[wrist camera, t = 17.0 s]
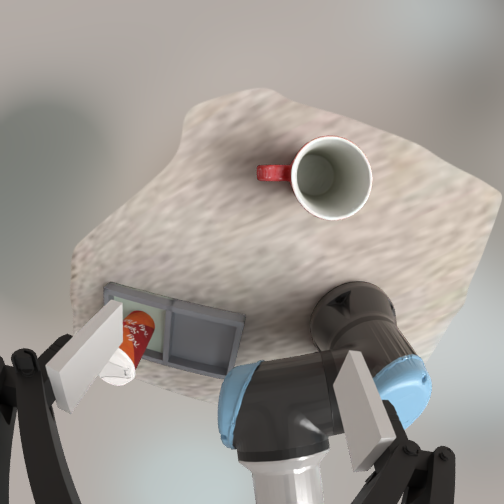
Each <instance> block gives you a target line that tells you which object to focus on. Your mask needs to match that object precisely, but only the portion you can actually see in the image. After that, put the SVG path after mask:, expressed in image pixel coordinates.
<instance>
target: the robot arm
mask: <svg viewBox="0 0 504 504" xmlns="http://www.w3.org/2000/svg"><path fill="white" fill-rule="evenodd" d="M310 329H311V335H312V339H313V342H314V344H315V346H316V348H317V349H318V351H319V352H315V353H310V354H305V355H300V356H295V357H289V358H283V359H277V360H270V361H264V360H260V361H258V362H257V363H252V364H246V365H241V366H237V367H234V368H233V369H231V370H230V371H229V372H228V374H227V375H226V377H225V379H224V382H223V383H222V387H221V390H220V395H219V402H218V428H219V433H220V434H221V440H222V442H223V444H224V445H225V446H226V447H227V448H231V449H237V453H238V461H239V463H241V464H242V465H243V466H245V467H246V468H247V469H249V470H250V471H251V472H252V477H253V484H254V493H255V500H256V504H324V496H323V488H322V479H321V471H320V462H321V460H322V459H323V458H324V456H325V455H326V454H327V452H328V451H329V450H330V447H329V440H328V437H329V436H332V435H337V434H342V433H345V436H346V440H347V445H348V449H349V454H350V458H351V463H352V467H353V471H354V472H358V471H368V470H369V469H370V468H371V467H372V466H373V464H374V467H375V471H374V472H373V473H372V474H371V476H369V478H368V479H367V480H366V481H365V482H366V484H365V485H364V486H363V488H362V489H361V491H360V492H359V494H358V495H357V496H356V497H355V499H354V500H353V502H352V503H351V504H397V503H398V501H399V500H400V498H401V496H402V494H403V498H402V502H401V504H454V492H455V454H454V453H453V451H452V450H451V449H450V448H448V447H445V446H440V447H438V448H437V449H436V450H435V451H434V452H429V451H423V450H421V449H420V447H419V446H418V445H417V444H416V443H415V442H413V441H411V440H408V438H407V435H406V433H405V431H404V430H405V429H406V428H407V427H408V426H410V425H411V424H412V423H413V422H414V421H415V419H416V418H418V417H419V416H420V414H421V413H422V412H423V410H424V409H425V407H426V405H427V403H428V401H429V399H430V395H431V391H432V383H431V378H430V376H429V374H428V372H427V370H426V368H425V366H424V363H423V360H422V359H421V358H420V357H419V356H418V355H417V354H416V352H415V351H414V349H413V348H412V347H411V345H410V344H409V342H408V341H407V340H406V338H405V337H404V335H403V334H402V333H401V331H400V330H399V328H398V327H397V322H396V315H395V309H394V306H393V304H392V302H391V300H390V299H389V297H388V296H387V295H386V294H385V293H384V291H382V290H381V289H380V288H379V287H377V286H375V285H373V284H370V283H367V282H351V283H346V284H343V285H341V286H338V287H336V288H335V289H333V290H331V291H330V292H329V293H327V294H326V295H325V296H324V297H323V298H322V299H321V300H320V301H319V303H318V304H317V306H316V307H315V309H314V311H313V314H312V317H311V323H310ZM122 342H123V303H121V302H118V301H115V300H110V301H109V302H108V303H107V304H106V305H105V306H104V307H103V308H102V309H101V310H100V311H99V312H97V313H96V314H95V315H94V316H93V317H92V318H91V319H90V320H89V321H88V322H87V323H86V324H85V325H84V326H83V327H82V328H81V329H80V330H79V331H78V332H77V333H76V334H75V335H74V336H71V335H69V334H66V335H63V336H61V337H59V338H58V339H57V340H56V341H55V342H54V343H53V344H52V345H51V346H50V347H49V349H47V350H46V351H45V352H44V353H43V354H42V355H41V356H40V357H39V358H38V359H37V356H36V353H35V352H34V351H33V350H30V349H25V348H23V349H19V350H17V351H15V352H14V353H13V354H12V357H11V361H12V364H13V367H12V366H8V365H5V363H4V361H3V358H2V357H0V504H9V471H10V458H11V447H12V439H13V431H14V424H15V419H16V412H17V410H18V420H19V428H20V436H21V442H22V448H23V454H24V459H25V464H26V469H27V473H28V478H29V482H30V486H31V490H32V493H33V497H34V500H35V504H81V502H80V499H79V497H78V494H77V491H76V489H75V486H74V483H73V481H72V478H71V475H70V472H69V469H68V466H67V463H66V459H65V456H64V452H63V449H62V446H61V442H60V438H59V434H58V430H57V426H56V421H55V417H54V412H53V408H52V404H53V402H54V401H55V400H56V403H57V406H58V408H60V409H62V410H64V411H66V412H68V413H70V414H71V413H72V412H73V410H74V409H75V407H76V406H77V405H78V403H79V402H80V400H81V399H82V397H83V396H84V394H85V393H86V392H87V390H88V389H89V387H90V386H91V385H92V383H93V382H94V380H95V379H96V378H97V376H98V375H99V373H100V372H101V371H102V369H103V368H104V366H105V365H106V364H107V362H108V361H109V360H110V358H111V357H112V356H113V354H114V353H115V352H116V350H117V349H118V347H119V346H120V345H121V343H122ZM403 492H404V493H403Z"/></svg>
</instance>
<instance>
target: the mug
mask: <svg viewBox="0 0 504 504" xmlns="http://www.w3.org/2000/svg"><path fill="white" fill-rule="evenodd" d="M257 179H258V180H259V181H289V182H290V184H291V186H292V188H293V191H294V194H295V196H296V198H297V200H298V201H299V203H300V204H301V205H302V207H303V208H304V209H305V210H307V211H308V212H309V213H311V214H312V215H314V216H316V217H318V218H321V219H324V220H341V219H345V218H347V217H350V216H352V215H353V214H355V213H356V212H358V211H359V210H360V209H361V208H362V207H363V205H364V204H365V202H366V201H367V199H368V197H369V195H370V192H371V188H372V171H371V167H370V164H369V161H368V159H367V157H366V156H365V154H364V153H363V151H362V150H361V149H360V148H359V147H358V146H357V145H355V144H354V143H353V142H351V141H349V140H347V139H345V138H342V137H338V136H322V137H318V138H315V139H313V140H311V141H309V142H308V143H306V144H305V145H304V146H303V147H302V148H301V149H300V150H299V152H298V153H297V155H296V157H295V158H294V160H293V161H292V162H291V165H258V166H257Z"/></svg>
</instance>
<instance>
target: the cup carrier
mask: <svg viewBox="0 0 504 504" xmlns="http://www.w3.org/2000/svg"><path fill="white" fill-rule="evenodd" d="M110 300H115V301H118V302H121V303H123V320H124V319H125V318H126V317H127V316H128V315H129V314H130V313H131V312H133V311H136V310H139V311H143V312H146V313H147V314H148V315H150V316H151V318H152V319H153V321H154V323H155V330H154V333H153V335H152V337H151V339H150V341H149V343H148V345H147V347H146V350H145V352H144V354H143V356H142V359H145V360H149V361H152V362H155V363H159V364H162V365H166V366H170V367H173V368H177V369H181V370H185V371H189V372H193V373H197V374H201V375H205V376H210V377H214V378H219V379H225V377H226V375H227V374H228V372H229V371H230V370H231V369H233V368H234V366H235V361H236V357H237V353H238V348H239V344H240V340H241V335H242V331H243V327H244V322H245V315H244V314H239V313H234V312H230V311H225V310H221V309H216V308H212V307H207V306H203V305H199V304H194V303H190V302H186V301H182V300H178V299H174V298H170V297H166V296H162V295H158V294H154V293H150V292H146V291H142V290H139V289H135V288H131V287H128V286H124V285H120V284H117V283H113V282H110V283H109V284H107V285H106V286H105V287H104V306H105V305H106V304H107V303H108V302H109V301H110Z"/></svg>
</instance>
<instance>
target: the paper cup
mask: <svg viewBox="0 0 504 504" xmlns="http://www.w3.org/2000/svg"><path fill="white" fill-rule="evenodd" d="M154 330H155V323H154V321H153V319H152V318H151V316H150V315H148V314H147V313H146V312H143V311H139V310H136V311H133V312H131V313H130V314H129V315H128V316H127V317H126V318H125V319H124V320H123V342H122V343H121V345H120V346H119V347H118V349H117V350H116V352H115V353H114V354H113V356H112V357H111V358H110V360H109V361H108V362H107V364H106V365H105V366H104V368H103V369H102V371H101V372H100V373H99V375H98V376H99V377H100V378H101V379H102V380H104V381H105V382H107V383H109V384H112V385H116V386H121V385H124V384H127V383H128V382H130V381H131V380H133V378H134V377H135V370H136V368H137V366H138V364H139V362H140V360H141V358H142V356H143V354H144V352H145V350H146V347H147V345H148V343H149V341H150V339H151V337H152V335H153V333H154Z"/></svg>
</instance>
